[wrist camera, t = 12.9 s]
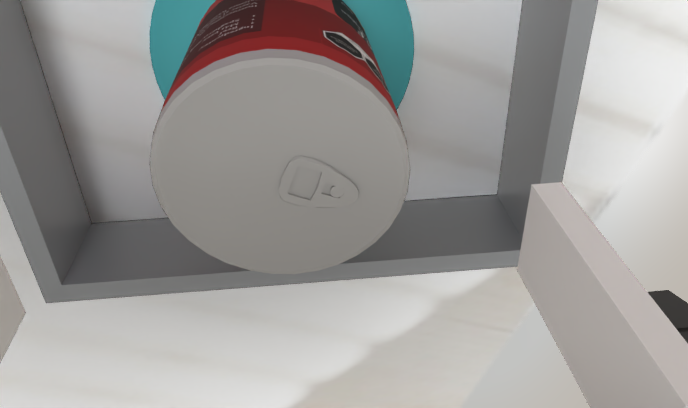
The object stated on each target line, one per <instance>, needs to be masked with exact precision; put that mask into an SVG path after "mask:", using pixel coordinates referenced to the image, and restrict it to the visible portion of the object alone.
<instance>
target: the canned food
mask: <svg viewBox="0 0 688 408" xmlns="http://www.w3.org/2000/svg"><path fill="white" fill-rule="evenodd" d="M150 170H151V176H152V183H153V187H154V190H155V193H156V195H157V198H158V200H159V203H160V205H161V207H162V209H163V210H164V212H165V213H166V215H167V216H168V218H169V219H170V221H171V222H172V224H173V225H174V226H175V227H176V228H177V229H178V230H179V231H180V232H181V233H182V234H183V235H184V236H185V237H186V238H187V239H188V240H189V241H190V242H192V243H193V244H194V245H196V246H197V247H199V248H200V249H201V250H203V251H204V252H206V253H207V254H209V255H211V256H213V257H215V258H217V259H219V260H221V261H223V262H225V263H227V264H231V265H234V266H237V267H240V268H244V269H247V270H250V271H257V272H263V273H270V274H299V273H306V272H313V271H318V270H322V269H325V268H328V267H332V266H335V265H338V264H340V263H343V262H345V261H347V260H349V259H351V258H353V257H355V256H357V255H359V254H360V253H361V252H363V251H364V250H366V249H367V248H368V247H370V246H371V245H373V244H374V243H375V242H376V241H377V240H378V239H379V238H380V237H381V236H382V235H383V234H384V233H385V232H386V231H387V230H388V229H389V228H390V226H391V225H392V223H393V221H394V220H395V218H396V217H397V215H398V213H399V212H400V210H401V208H402V205H403V202H404V199H405V197H406V194H407V191H408V183H409V175H410V166H409V156H408V148H407V140H406V137H405V135H404V132H403V129H402V125H401V123H400V120H399V117H398V114H397V111H396V108H395V105H394V103H393V100H392V98H391V95H390V93H389V90H388V88H387V85H386V83H385V80H384V78H383V75H382V73H381V70H380V68H379V65H378V63H377V60H376V58H375V55H374V53H373V50H372V48H371V45H370V43H369V40H368V38H367V35H366V33H365V30H364V28H363V27H362V25H361V23H360V22H359V20H358V18H357V17H356V15H355V14H354V13H353V11H352V10H351V9H350V8H349V7H348V6H347V5H346V4H345V3H344V2H343V1H342V0H216V1H215V2H214V3H213V4H212V5H211V6H210V7H209V9H208V10H207V12H206V13H205V15H204V16H203V18H202V20H201V21H200V23H199V26H198V28H197V30H196V32H195V35H194V37H193V39H192V41H191V43H190V46H189V48H188V50H187V52H186V55H185V57H184V59H183V61H182V63H181V66H180V68H179V70H178V72H177V74H176V77H175V79H174V81H173V83H172V86H171V88H170V90H169V92H168V94H167V97H166V99H165V102H164V105H163V108H162V110H161V113H160V115H159V118H158V121H157V124H156V127H155V130H154V132H153V140H152V146H151V156H150Z"/></svg>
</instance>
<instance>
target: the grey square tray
mask: <svg viewBox="0 0 688 408" xmlns="http://www.w3.org/2000/svg"><path fill="white" fill-rule="evenodd" d="M215 1H216V0H156V2H155V6H154V9H153V13H152V19H151V26H150V53H151V60H152V66H153V70H154V73H155V77H156V80H157V83H158V86H159V88H160V90H161V93H162V95H163V97H164V99H166V97H167V94H168V92H169V90H170V88H171V86H172V83H173V81H174V79H175V77H176V74H177V72H178V70H179V68H180V66H181V63H182V61H183V59H184V57H185V55H186V52H187V50H188V48H189V46H190V43H191V41H192V39H193V37H194V35H195V32H196V30H197V28H198V26H199V23H200V21H201V20H202V18H203V16H204V15H205V13H206V12H207V10H208V9H209V7H210V6H211V5H212V4H213V3H214V2H215ZM342 1H343V2H344V3H345V4H346V5H347V6H348V7H349V8H350V9H351V10H352V11H353V13H354V14H355V15H356V17H357V18H358V20H359V22H360V23H361V25H362V27H363V28H364V30H365V33H366V35H367V38H368V40H369V43H370V45H371V48H372V50H373V53H374V55H375V58H376V60H377V63H378V65H379V68H380V70H381V73H382V75H383V78H384V80H385V83H386V85H387V88H388V90H389V93H390V95H391V98H392V100H393V103H394V105H395V108H396V110H397V108H398V106H399V104H400V102H401V101H402V99H403V96H404V94H405V91H406V88H407V86H408V83H409V79H410V75H411V70H412V65H413V55H414V38H413V29H412V23H411V17H410V14H409V11H408V7H407V4H406V1H405V0H342ZM597 4H598V0H523V3H522V10H521V18H520V25H519V33H518V41H517V48H516V56H515V63H514V71H513V78H512V86H511V94H510V101H509V109H508V116H507V124H506V132H505V139H504V147H503V154H502V162H501V169H500V177H499V185H498V192H497V195H486V196H472V197H458V198H444V199H430V200H416V201H404V202H403V205H402V208H401V210H400V212H399V213H398V215H397V217H396V218H395V220H394V221H393V223H392V225H391V226H390V228H389V229H388V230H387V231H386V232H385V233H384V234H383V235H382V236H381V237H380V238H379V239H378V240H377V241H376V242H375V243H374V244H373V245H371V246H370V247H368V248H367V249H366V250H364V251H363V252H361V253H360V254H359V255H357V256H355V257H353V258H351V259H349V260H347V261H345V262H343V263H340V264H338V265H335V266H332V267H328V268H325V269H322V270H318V271H313V272H306V273H299V274H270V273H263V272H257V271H250V270H247V269H244V268H240V267H237V266H234V265H231V264H227V263H225V262H223V261H221V260H219V259H217V258H215V257H213V256H211V255H209V254H207V253H206V252H204V251H203V250H201V249H200V248H199V247H197V246H196V245H194V244H193V243H192V242H190V241H189V240H188V239H187V238H186V237H185V236H184V235H183V234H182V233H181V232H180V231H179V230H178V229H177V228H176V227H175V226H174V225H173V224H172V222H171V221H170V219H169V218H163V219H149V220H135V221H121V222H107V223H93V224H91V221H90V218H89V215H88V211H87V208H86V205H85V202H84V199H83V196H82V193H81V190H80V187H79V183H78V180H77V177H76V174H75V171H74V168H73V165H72V162H71V159H70V156H69V152H68V149H67V146H66V143H65V140H64V137H63V134H62V131H61V128H60V124H59V121H58V118H57V115H56V112H55V109H54V106H53V103H52V100H51V97H50V93H49V90H48V87H47V84H46V81H45V78H44V75H43V72H42V69H41V65H40V62H39V59H38V56H37V53H36V50H35V47H34V44H33V41H32V38H31V34H30V31H29V28H28V25H27V22H26V19H25V16H24V13H23V10H22V6H21V3H20V0H0V192H1V195H2V197H3V199H4V202H5V204H6V207H7V209H8V212H9V214H10V216H11V219H12V221H13V224H14V226H15V229H16V231H17V234H18V236H19V238H20V241H21V243H22V246H23V248H24V251H25V253H26V255H27V258H28V260H29V263H30V265H31V268H32V270H33V273H34V275H35V277H36V280H37V282H38V285H39V287H40V290H41V292H42V295H43V297H44V299H45V302H46V303H54V302H67V301H80V300H93V299H106V298H119V297H131V296H144V295H157V294H170V293H183V292H196V291H208V290H221V289H234V288H247V287H260V286H273V285H286V284H298V283H311V282H324V281H337V280H350V279H363V278H375V277H388V276H401V275H414V274H427V273H440V272H452V271H465V270H478V269H491V268H504V267H517V266H518V261H519V255H520V249H521V243H522V238H523V232H524V226H525V220H526V214H527V208H528V202H529V197H530V191H531V185H532V184H544V183H557V182H562V179H563V174H564V169H565V164H566V159H567V154H568V149H569V144H570V139H571V134H572V129H573V124H574V119H575V114H576V109H577V104H578V99H579V94H580V89H581V84H582V79H583V74H584V69H585V64H586V59H587V54H588V49H589V44H590V39H591V34H592V29H593V24H594V19H595V14H596V9H597Z"/></svg>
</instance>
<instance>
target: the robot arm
mask: <svg viewBox="0 0 688 408" xmlns="http://www.w3.org/2000/svg"><path fill="white" fill-rule="evenodd" d="M517 271H518V273H519V275H520V277H521V278H522V280H523V282H524V284H525V286H526V288H527V290H528V292H529V293H530V295H531V297H532V299H533V301H534V303H535V305H536V307H537V308H538V310H539V312H540V314H541V316H542V318H543V320H544V322H545V323H546V325H547V327H548V329H549V331H550V333H551V334H552V337H553V338H554V340H555V342H556V344H557V346H558V348H559V349H560V351H561V353H562V355H563V357H564V359H565V361H566V363H567V365H568V366H569V368H570V370H571V372H572V374H573V376H574V378H575V380H576V382H577V383H578V385H579V387H580V389H581V391H582V393H583V395H584V397H585V399H586V400H587V402H588V404H589V406H590V408H688V303H687V302H685V301H684V300H682V299H681V298H679V297H678V296H676V295H675V294H673V293H672V292H670V291H669V290H664V291H654V292H647V291H646V290H645V288H644V287H643V286H642V284H641V283H640V282H639V281H638V279H637V278H636V277H635V276H634V274H633V273H632V272H631V271H630V269H629V268H628V267H627V265H626V264H625V263H624V261H623V260H622V259H621V258H620V257H619V255H618V254H617V253H616V251H615V250H614V249H613V248H612V246H611V245H610V244H609V242H608V241H607V240H606V239H605V237H604V236H603V235H602V233H601V232H600V231H599V230H598V228H597V227H596V226H595V224H594V223H593V222H592V221H591V219H590V218H589V217H588V215H587V214H586V213H585V212H584V210H583V209H582V208H581V207H580V205H579V204H578V203H577V201H576V200H575V199H574V198H573V196H572V195H571V194H570V192H569V191H568V190H567V189H566V187H565V186H564V185H563V184H562V182H557V183H544V184H532V185H531V191H530V197H529V202H528V208H527V214H526V220H525V226H524V232H523V238H522V243H521V249H520V255H519V261H518V267H517ZM25 313H26V312H25V310H24V308H23V305H22V303H21V301H20V299H19V296H18V294H17V292H16V290H15V287H14V285H13V283H12V281H11V279H10V276H9V274H8V272H7V270H6V267H5V265H4V263H3V261H2V258H1V256H0V363H1V361H2V359H3V357H4V355H5V353H6V351H7V349H8V347H9V345H10V343H11V341H12V339H13V337H14V335H15V333H16V331H17V329H18V327H19V325H20V323H21V321H22V319H23V317H24V315H25Z"/></svg>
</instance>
